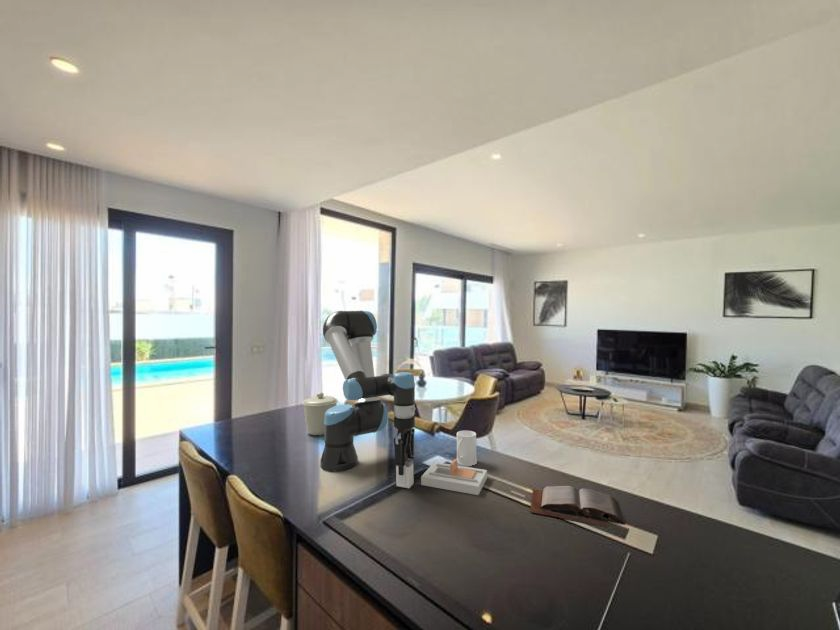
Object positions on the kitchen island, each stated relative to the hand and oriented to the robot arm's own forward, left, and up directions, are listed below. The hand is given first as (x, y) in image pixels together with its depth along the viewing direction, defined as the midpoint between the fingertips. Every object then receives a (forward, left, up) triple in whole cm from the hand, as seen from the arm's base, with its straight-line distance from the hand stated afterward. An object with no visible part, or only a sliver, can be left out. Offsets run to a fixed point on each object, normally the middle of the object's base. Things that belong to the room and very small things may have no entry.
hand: (404, 480), depth 133 cm
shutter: (+19, +9, +1) cm, 21 cm away
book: (+57, +7, -3) cm, 58 cm away
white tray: (+16, +9, -2) cm, 18 cm away
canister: (-66, +38, -2) cm, 76 cm away
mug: (+15, +26, -2) cm, 30 cm away
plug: (0, 0, -2) cm, 2 cm away
